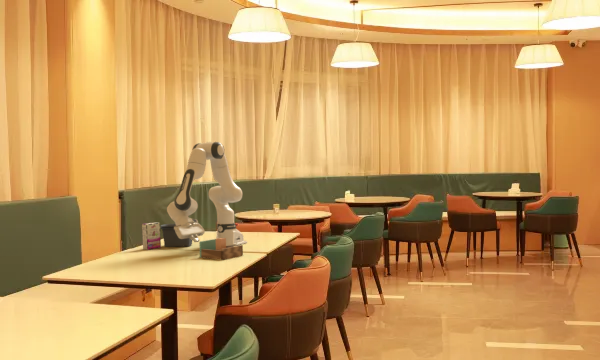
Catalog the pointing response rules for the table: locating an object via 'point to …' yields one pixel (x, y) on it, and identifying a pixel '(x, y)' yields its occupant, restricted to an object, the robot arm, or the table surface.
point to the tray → (208, 245)
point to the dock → (223, 252)
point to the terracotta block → (220, 243)
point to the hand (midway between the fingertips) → (197, 241)
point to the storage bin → (173, 237)
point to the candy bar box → (151, 236)
